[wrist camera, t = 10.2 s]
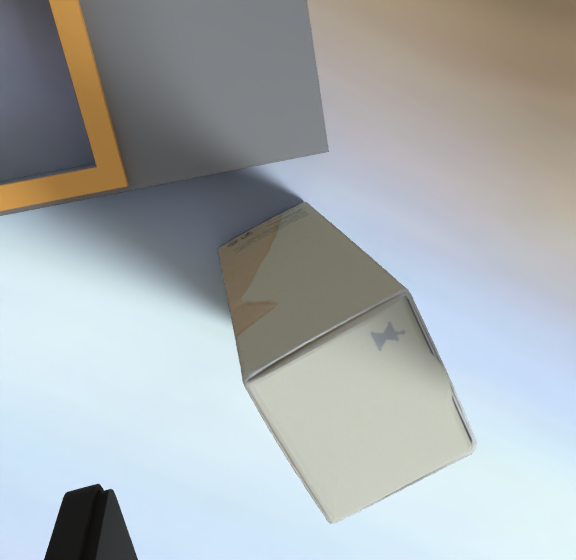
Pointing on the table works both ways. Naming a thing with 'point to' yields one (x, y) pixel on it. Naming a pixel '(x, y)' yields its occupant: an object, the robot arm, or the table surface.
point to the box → (339, 363)
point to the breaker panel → (181, 93)
